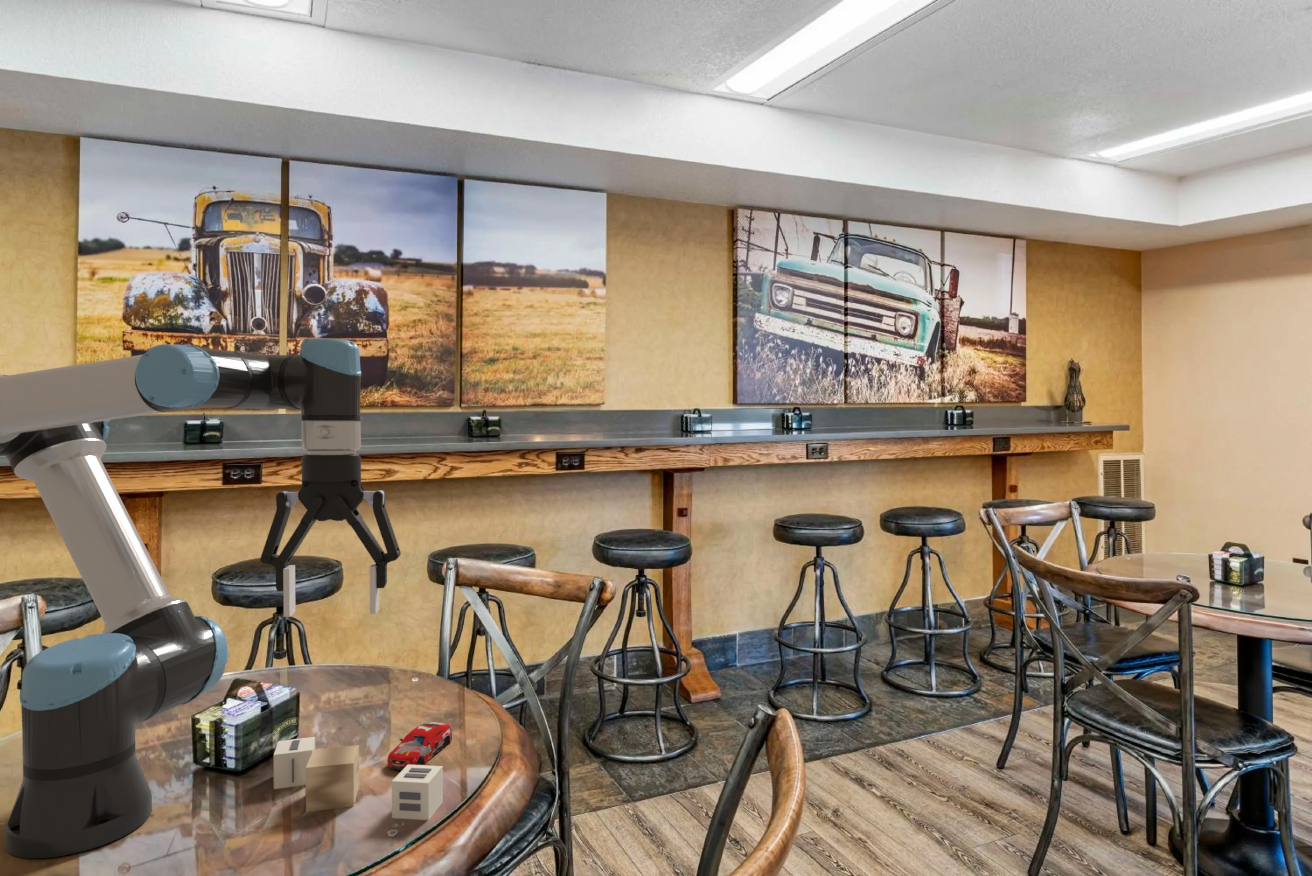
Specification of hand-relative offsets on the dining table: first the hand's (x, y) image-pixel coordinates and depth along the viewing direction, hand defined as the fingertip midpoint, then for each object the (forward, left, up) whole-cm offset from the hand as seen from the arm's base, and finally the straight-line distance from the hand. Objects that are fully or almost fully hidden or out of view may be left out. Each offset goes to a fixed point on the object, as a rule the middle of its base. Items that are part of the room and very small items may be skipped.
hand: (332, 613), depth 107 cm
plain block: (0, 0, -26) cm, 26 cm away
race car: (+10, +13, -26) cm, 31 cm away
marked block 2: (+12, -5, -26) cm, 29 cm away
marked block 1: (-7, +7, -26) cm, 28 cm away
